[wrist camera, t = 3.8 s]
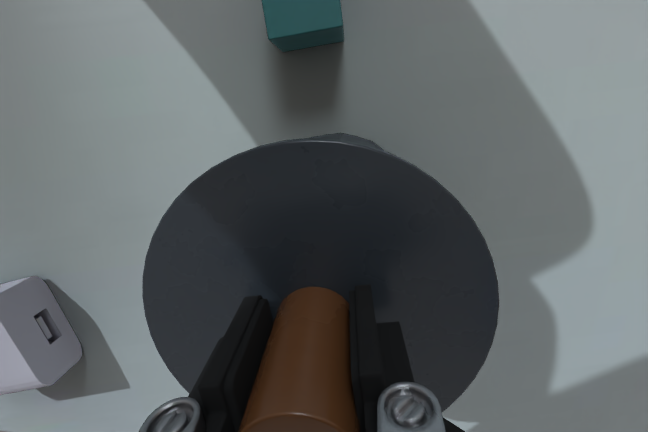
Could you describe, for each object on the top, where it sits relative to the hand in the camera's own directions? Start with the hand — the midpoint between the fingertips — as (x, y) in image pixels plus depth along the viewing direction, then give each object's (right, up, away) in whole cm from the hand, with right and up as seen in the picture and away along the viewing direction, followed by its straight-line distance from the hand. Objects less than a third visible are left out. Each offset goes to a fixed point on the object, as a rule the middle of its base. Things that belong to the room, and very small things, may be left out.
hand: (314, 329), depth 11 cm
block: (-1, +18, +11) cm, 21 cm away
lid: (0, 0, +1) cm, 1 cm away
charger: (-32, -7, +22) cm, 39 cm away
